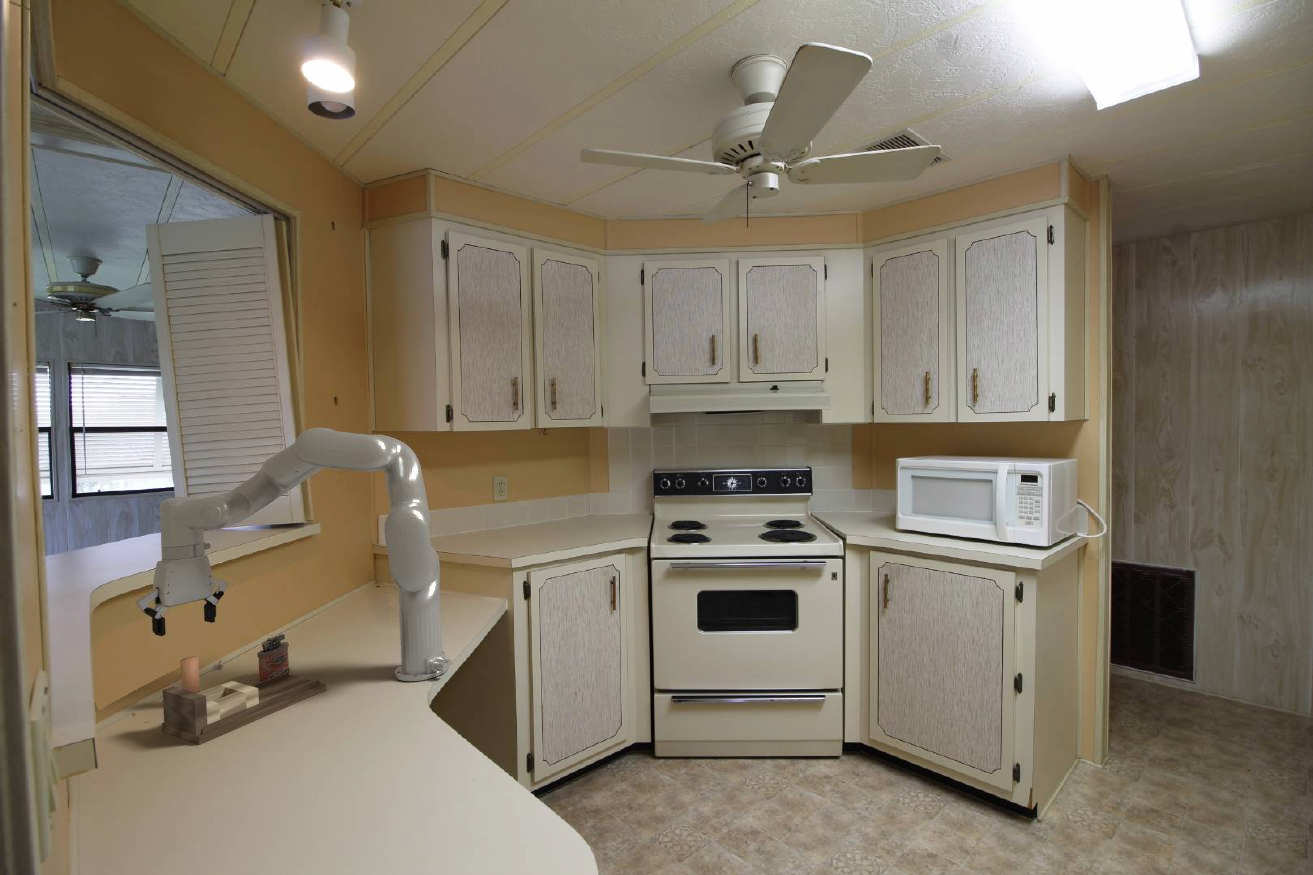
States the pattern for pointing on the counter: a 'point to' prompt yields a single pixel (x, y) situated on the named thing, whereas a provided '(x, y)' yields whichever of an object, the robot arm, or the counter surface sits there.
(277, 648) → the lighter
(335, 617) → the counter surface
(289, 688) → the rail board
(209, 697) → the block
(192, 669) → the dowel
